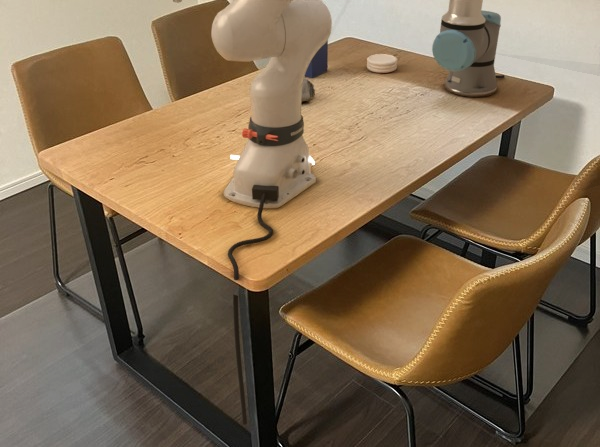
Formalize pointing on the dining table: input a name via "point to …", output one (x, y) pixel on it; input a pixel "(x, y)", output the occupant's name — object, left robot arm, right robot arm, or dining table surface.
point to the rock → (307, 90)
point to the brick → (318, 62)
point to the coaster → (381, 63)
